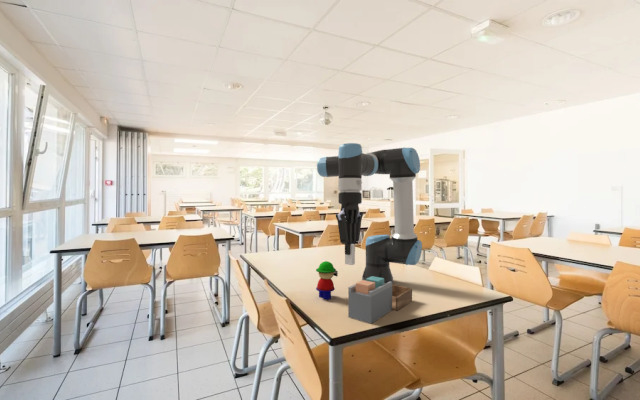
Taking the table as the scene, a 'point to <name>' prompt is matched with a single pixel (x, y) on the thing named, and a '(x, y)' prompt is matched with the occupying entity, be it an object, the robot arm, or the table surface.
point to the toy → (326, 279)
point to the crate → (400, 297)
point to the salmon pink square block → (365, 286)
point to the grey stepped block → (370, 303)
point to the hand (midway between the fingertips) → (349, 264)
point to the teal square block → (376, 281)
